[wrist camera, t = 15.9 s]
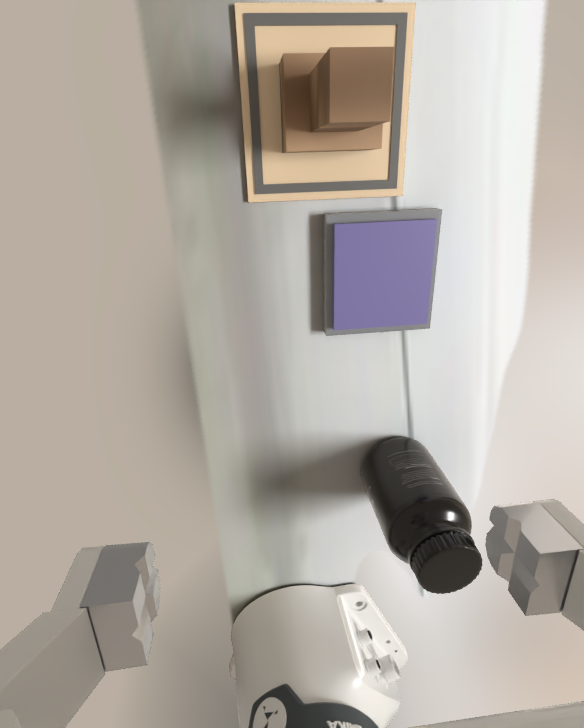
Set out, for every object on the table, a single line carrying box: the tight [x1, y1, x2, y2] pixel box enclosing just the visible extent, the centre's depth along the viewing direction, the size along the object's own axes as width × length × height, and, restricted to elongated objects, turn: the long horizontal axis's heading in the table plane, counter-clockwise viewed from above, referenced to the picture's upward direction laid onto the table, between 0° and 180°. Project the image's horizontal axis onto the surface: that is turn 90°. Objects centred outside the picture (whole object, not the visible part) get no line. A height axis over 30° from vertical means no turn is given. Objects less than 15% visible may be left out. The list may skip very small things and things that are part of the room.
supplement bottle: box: [361, 437, 482, 594], centre depth 36 cm, size 7×7×12 cm
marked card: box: [235, 3, 416, 202], centre depth 28 cm, size 11×11×1 cm
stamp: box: [279, 47, 394, 153], centre depth 24 cm, size 5×6×9 cm
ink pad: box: [324, 208, 442, 336], centre depth 33 cm, size 9×8×2 cm
